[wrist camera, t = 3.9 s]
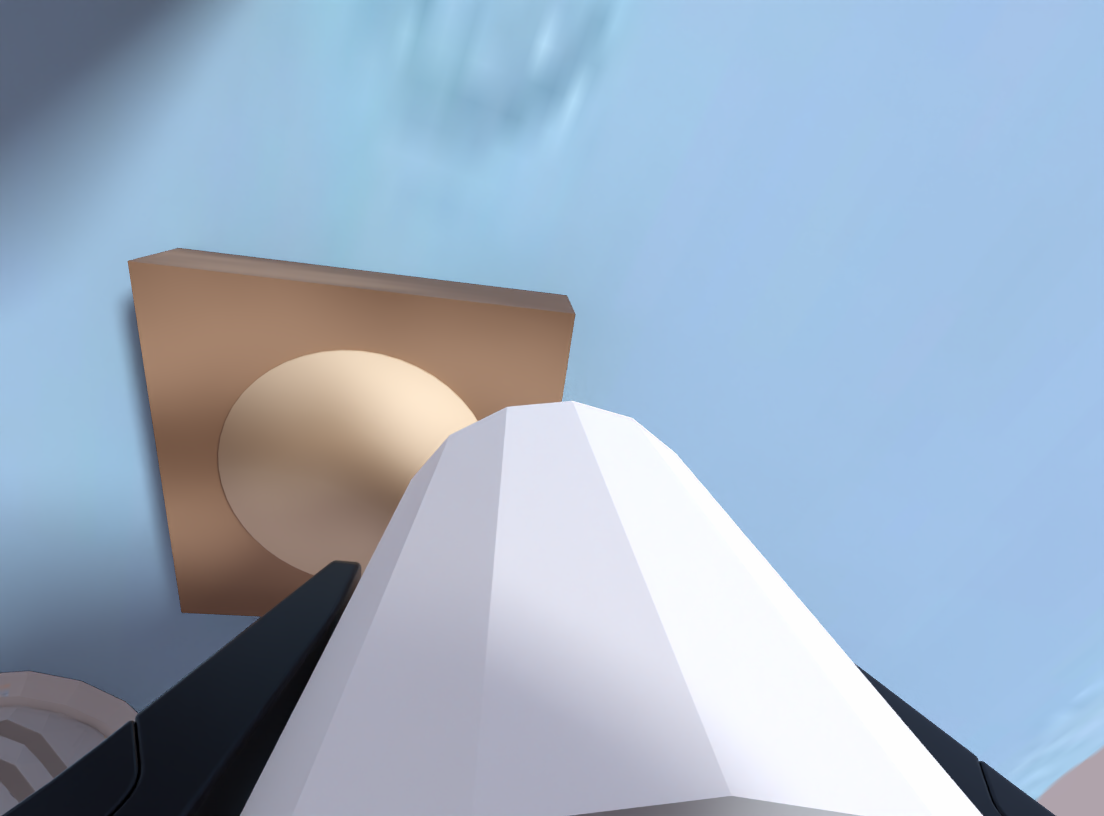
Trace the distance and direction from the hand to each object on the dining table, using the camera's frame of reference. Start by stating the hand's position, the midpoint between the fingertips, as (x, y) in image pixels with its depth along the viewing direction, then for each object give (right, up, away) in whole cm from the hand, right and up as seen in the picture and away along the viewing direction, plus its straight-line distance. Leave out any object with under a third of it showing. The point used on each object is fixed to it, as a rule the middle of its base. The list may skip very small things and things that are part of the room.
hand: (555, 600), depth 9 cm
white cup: (0, +1, +2) cm, 2 cm away
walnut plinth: (-6, +2, +11) cm, 13 cm away
